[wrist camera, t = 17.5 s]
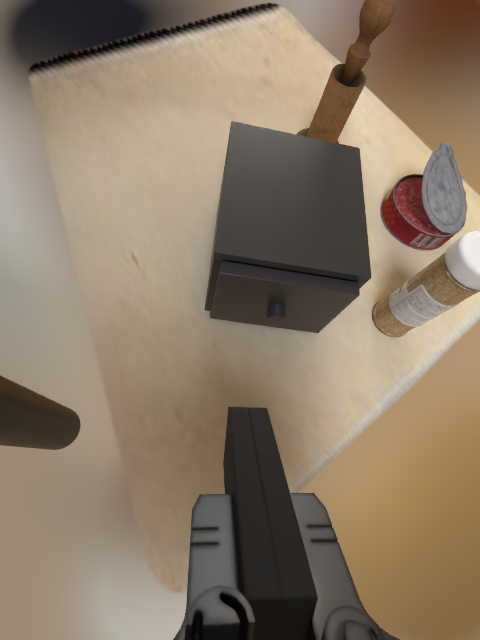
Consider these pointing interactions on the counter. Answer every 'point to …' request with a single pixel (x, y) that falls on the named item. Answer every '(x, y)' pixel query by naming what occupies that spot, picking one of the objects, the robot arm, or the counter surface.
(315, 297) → the pull-out drawer box
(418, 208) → the canned food
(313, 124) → the mortar and pestle
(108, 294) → the counter surface
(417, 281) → the sprinkles bottle
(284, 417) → the counter surface
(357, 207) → the small drawer cabinet
